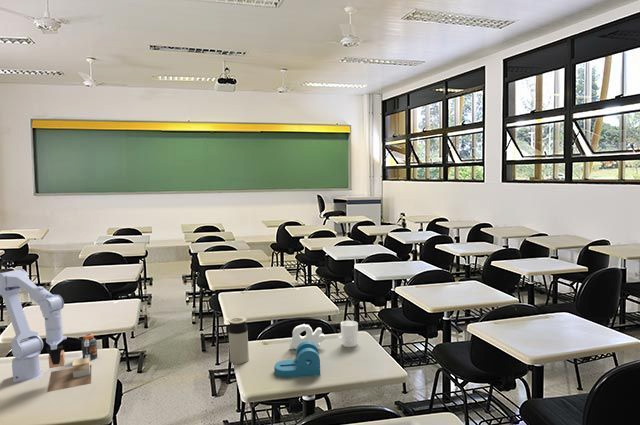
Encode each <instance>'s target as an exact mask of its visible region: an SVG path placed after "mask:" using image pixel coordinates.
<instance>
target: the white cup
mask: <svg viewBox="0 0 640 425" xmlns="http://www.w3.org/2000/svg"><path fill="white" fill-rule="evenodd" d="M340 332H341V333H340V336H341V342H342V346H343V347H347V348H353V347H356V346H357V345H358V338H359V337H358V335H359V334H358V332H359V323H358V322H357V321H355V320H343V321H341V322H340Z"/></svg>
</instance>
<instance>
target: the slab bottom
mask: <svg viewBox="0 0 640 425" xmlns="http://www.w3.org/2000/svg"><path fill="white" fill-rule="evenodd" d="M86 375H90V367H89V369H85V370H80V371H75V372H73V378H75V377H80V376H86Z"/></svg>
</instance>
